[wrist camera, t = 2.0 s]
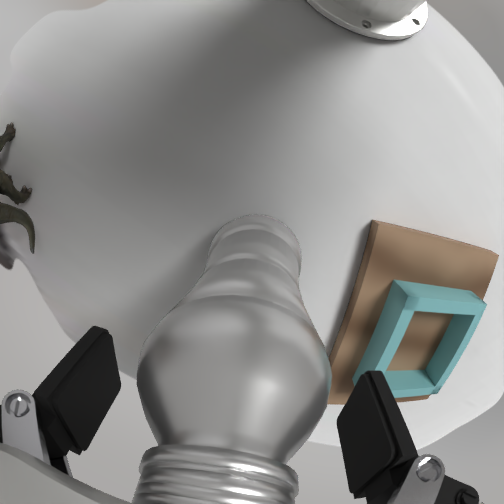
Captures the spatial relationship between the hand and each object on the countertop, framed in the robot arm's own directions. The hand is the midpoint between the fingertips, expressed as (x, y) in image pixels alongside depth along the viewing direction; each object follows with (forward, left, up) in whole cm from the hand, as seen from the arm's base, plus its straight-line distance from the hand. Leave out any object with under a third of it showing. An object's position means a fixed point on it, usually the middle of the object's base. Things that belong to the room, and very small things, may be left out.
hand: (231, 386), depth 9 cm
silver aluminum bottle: (-1, 0, -14) cm, 14 cm away
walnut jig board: (+5, +17, -14) cm, 23 cm away
